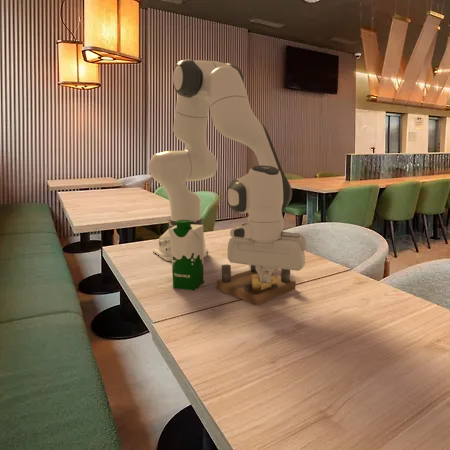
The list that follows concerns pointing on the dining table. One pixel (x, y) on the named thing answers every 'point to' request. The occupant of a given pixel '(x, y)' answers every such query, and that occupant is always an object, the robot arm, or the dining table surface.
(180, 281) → the milk carton
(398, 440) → the dining table surface
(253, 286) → the gold bone
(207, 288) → the dining table surface
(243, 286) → the stool seat
